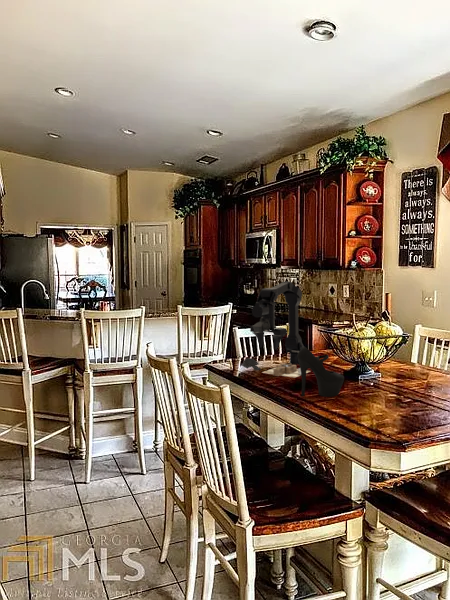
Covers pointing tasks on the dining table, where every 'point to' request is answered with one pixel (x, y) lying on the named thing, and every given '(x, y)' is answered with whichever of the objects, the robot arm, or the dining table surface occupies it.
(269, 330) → the robot arm
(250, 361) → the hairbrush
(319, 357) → the high-heeled shoe
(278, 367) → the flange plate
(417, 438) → the dining table surface
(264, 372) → the birch board
